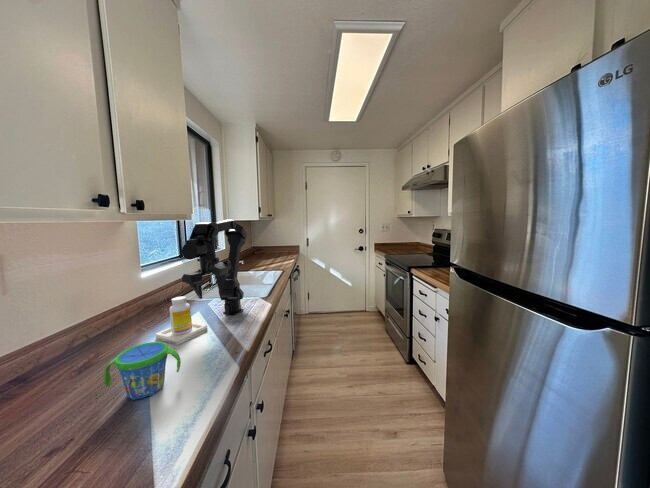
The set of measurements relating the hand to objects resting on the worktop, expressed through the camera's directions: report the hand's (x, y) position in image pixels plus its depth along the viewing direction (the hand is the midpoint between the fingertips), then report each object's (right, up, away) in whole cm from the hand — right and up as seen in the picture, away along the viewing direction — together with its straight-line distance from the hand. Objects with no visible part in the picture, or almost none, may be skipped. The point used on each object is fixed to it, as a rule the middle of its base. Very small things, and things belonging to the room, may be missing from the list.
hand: (211, 295), depth 97 cm
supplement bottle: (-9, -13, -4) cm, 16 cm away
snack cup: (0, -17, -35) cm, 39 cm away
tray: (-9, -14, -4) cm, 17 cm away
